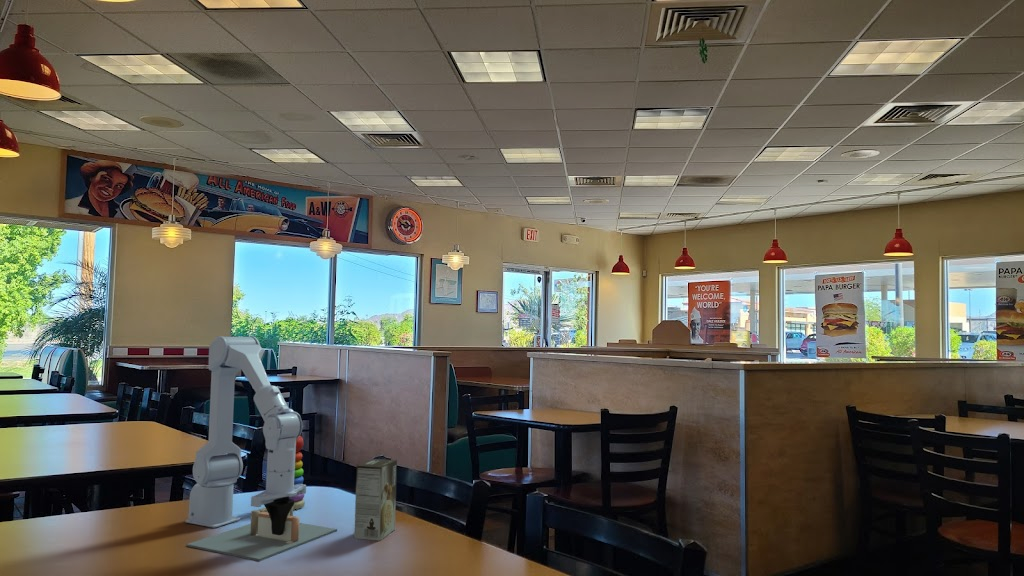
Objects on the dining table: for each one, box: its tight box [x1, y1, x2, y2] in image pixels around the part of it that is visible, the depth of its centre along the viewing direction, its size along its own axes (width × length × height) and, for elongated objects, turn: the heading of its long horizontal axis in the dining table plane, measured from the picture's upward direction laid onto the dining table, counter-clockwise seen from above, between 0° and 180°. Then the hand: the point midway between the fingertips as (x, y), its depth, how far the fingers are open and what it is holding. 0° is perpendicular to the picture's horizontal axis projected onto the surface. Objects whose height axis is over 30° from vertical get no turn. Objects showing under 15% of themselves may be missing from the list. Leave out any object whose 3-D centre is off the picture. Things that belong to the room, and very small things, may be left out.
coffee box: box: [353, 458, 398, 542], centre depth 160 cm, size 9×6×16 cm
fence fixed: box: [250, 507, 294, 536], centre depth 161 cm, size 2×12×5 cm, turn 156°
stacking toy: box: [289, 435, 306, 511], centre depth 182 cm, size 8×8×19 cm
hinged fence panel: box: [258, 512, 301, 541], centre depth 153 cm, size 10×2×5 cm, turn 68°
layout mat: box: [186, 522, 338, 562], centre depth 154 cm, size 20×24×1 cm
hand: (277, 534), depth 151 cm, fingers closed
